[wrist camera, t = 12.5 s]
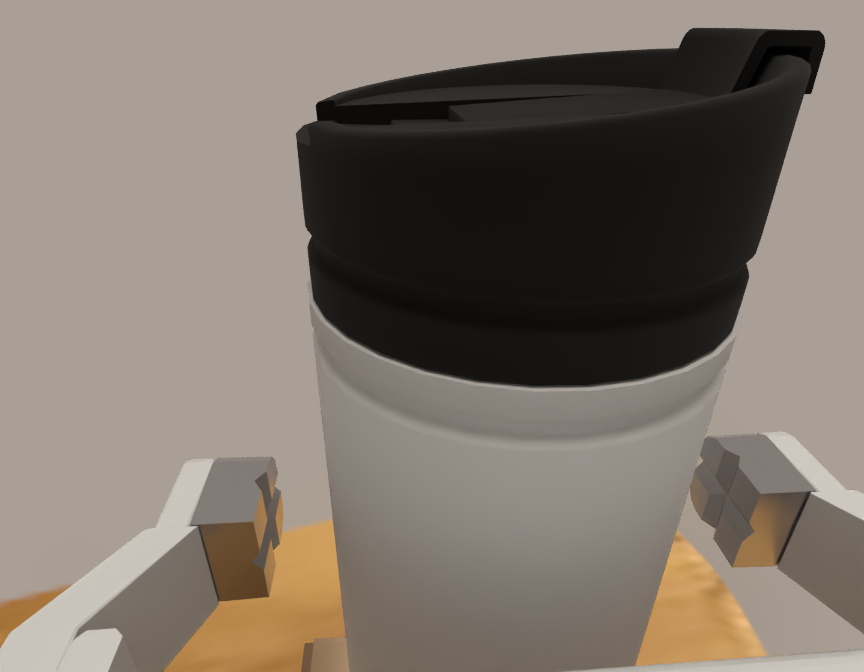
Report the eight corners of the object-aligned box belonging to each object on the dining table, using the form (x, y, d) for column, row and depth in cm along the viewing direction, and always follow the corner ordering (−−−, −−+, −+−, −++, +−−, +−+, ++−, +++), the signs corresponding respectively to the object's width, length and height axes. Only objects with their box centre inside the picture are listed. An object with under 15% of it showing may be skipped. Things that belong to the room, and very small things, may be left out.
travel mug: (627, 920, 15) (1046, 34, 5) (368, 968, 14) (234, 31, 4) (551, 675, 20) (674, 26, 10) (362, 700, 19) (298, 23, 9)
